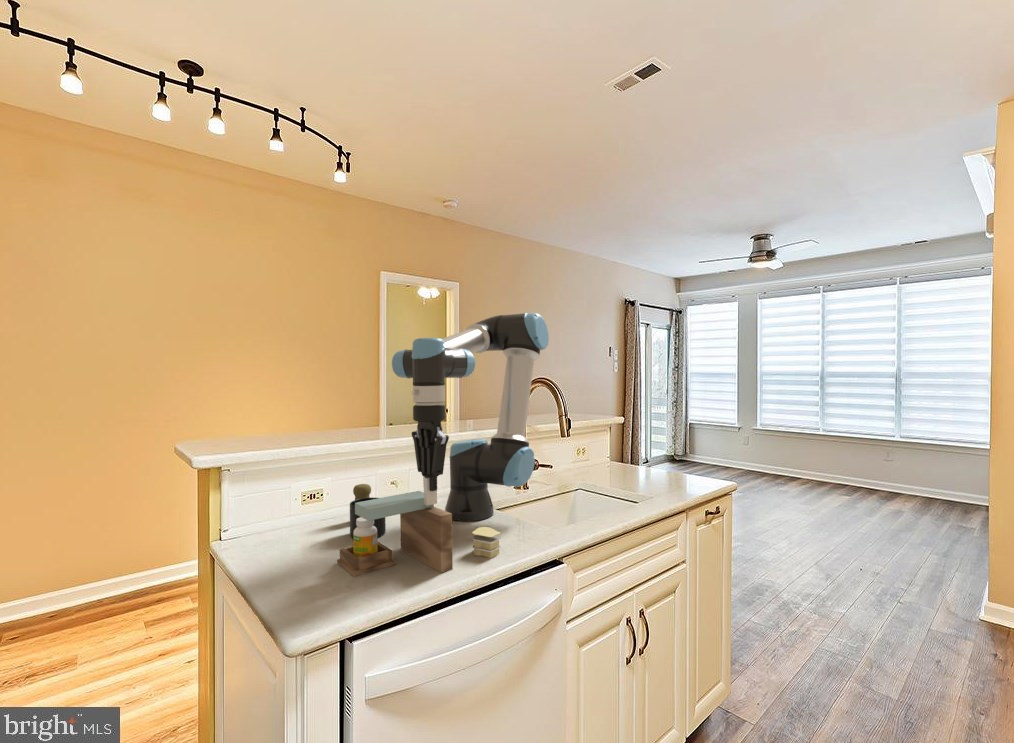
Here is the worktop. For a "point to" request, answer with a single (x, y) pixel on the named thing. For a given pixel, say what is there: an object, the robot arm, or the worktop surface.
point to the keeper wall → (428, 537)
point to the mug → (353, 517)
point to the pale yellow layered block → (486, 542)
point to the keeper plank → (391, 505)
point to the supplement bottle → (364, 538)
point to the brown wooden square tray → (365, 560)
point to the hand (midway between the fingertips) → (430, 503)
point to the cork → (362, 491)
